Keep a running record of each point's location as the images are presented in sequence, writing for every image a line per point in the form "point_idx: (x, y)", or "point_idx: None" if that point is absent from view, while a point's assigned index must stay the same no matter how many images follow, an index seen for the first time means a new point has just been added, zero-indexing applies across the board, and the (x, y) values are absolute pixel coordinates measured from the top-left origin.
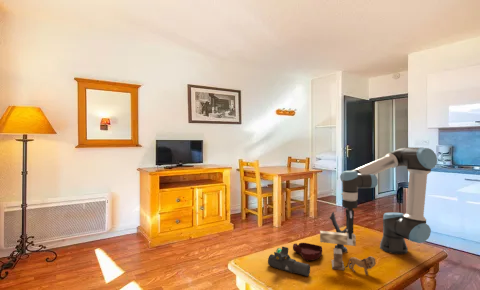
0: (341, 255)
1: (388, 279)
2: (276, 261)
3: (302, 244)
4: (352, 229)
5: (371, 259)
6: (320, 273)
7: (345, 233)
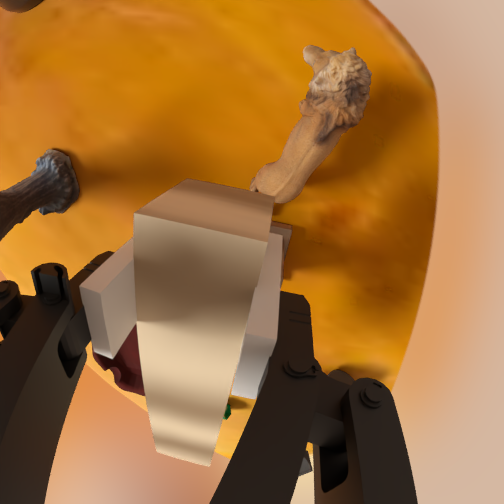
0: (282, 280)
1: (376, 32)
2: None
3: (105, 360)
4: (395, 451)
5: (366, 82)
6: (324, 334)
7: (147, 335)
